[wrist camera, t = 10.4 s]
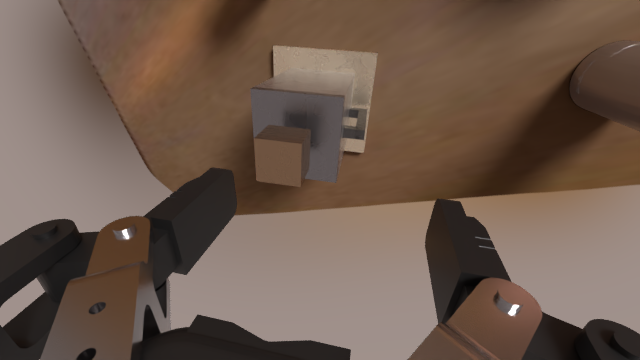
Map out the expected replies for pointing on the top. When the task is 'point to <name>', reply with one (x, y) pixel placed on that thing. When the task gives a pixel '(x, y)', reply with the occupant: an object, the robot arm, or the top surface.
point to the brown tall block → (282, 155)
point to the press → (318, 101)
